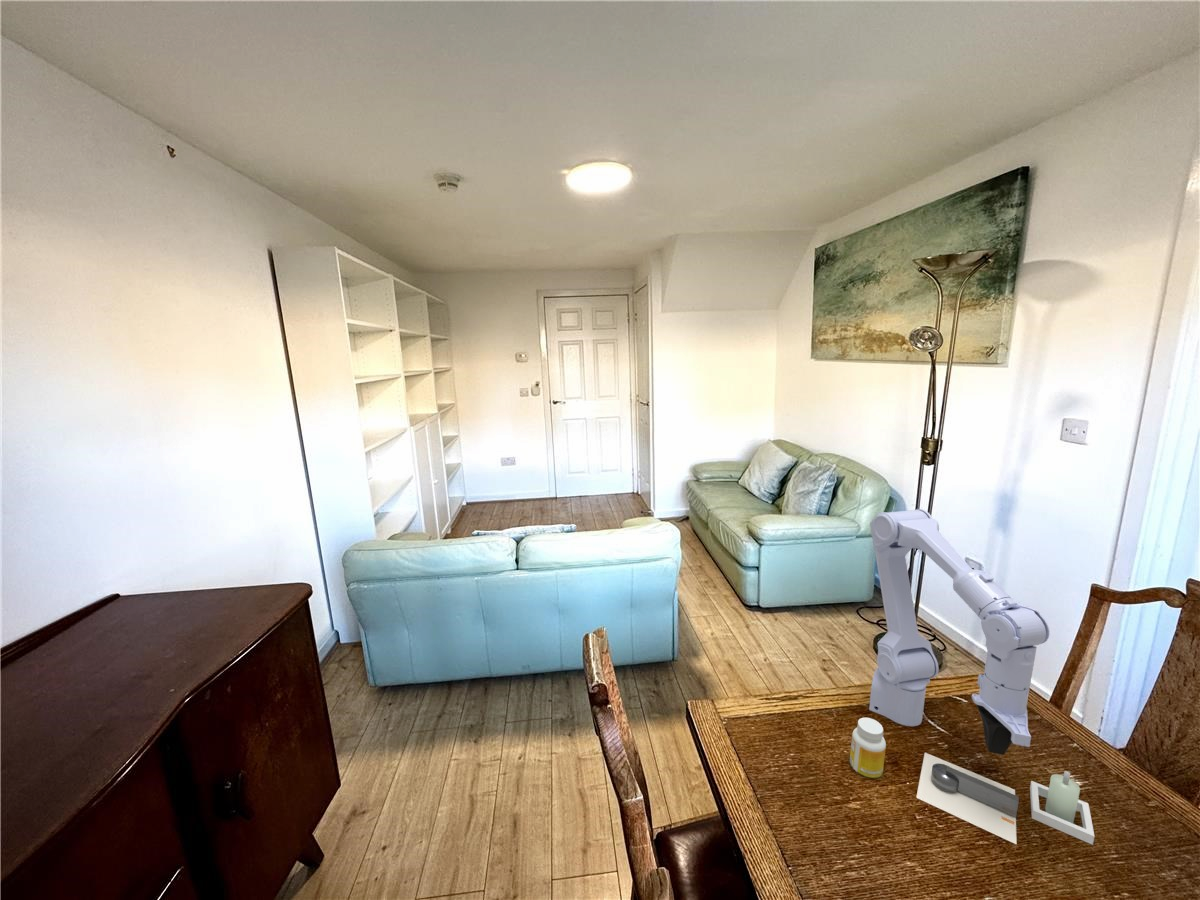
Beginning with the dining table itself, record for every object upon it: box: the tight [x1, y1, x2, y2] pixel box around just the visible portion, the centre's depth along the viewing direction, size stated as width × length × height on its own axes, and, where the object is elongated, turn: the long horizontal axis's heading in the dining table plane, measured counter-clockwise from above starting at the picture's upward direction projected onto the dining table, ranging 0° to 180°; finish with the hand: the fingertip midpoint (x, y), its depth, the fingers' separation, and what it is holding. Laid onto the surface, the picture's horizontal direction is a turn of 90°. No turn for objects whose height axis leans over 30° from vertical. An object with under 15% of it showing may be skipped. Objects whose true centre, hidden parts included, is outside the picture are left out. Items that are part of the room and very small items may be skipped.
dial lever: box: [931, 764, 1020, 818], centre depth 82 cm, size 12×4×3 cm, turn 50°
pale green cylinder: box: [1044, 770, 1081, 824], centre depth 78 cm, size 3×3×9 cm
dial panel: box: [915, 752, 1017, 845], centre depth 83 cm, size 13×12×1 cm
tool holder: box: [1029, 780, 1096, 846], centre depth 79 cm, size 7×7×2 cm
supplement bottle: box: [849, 717, 887, 779], centre depth 88 cm, size 5×5×10 cm
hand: (995, 750), depth 81 cm, fingers closed
